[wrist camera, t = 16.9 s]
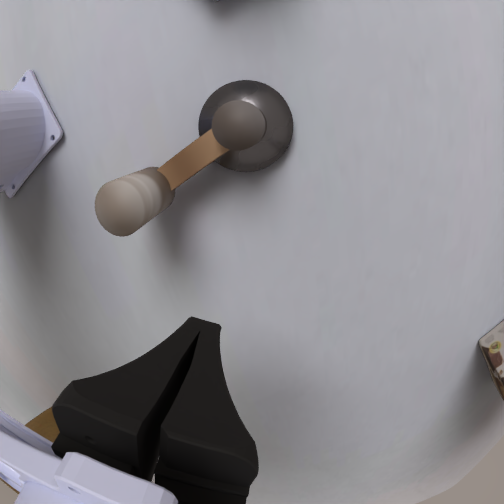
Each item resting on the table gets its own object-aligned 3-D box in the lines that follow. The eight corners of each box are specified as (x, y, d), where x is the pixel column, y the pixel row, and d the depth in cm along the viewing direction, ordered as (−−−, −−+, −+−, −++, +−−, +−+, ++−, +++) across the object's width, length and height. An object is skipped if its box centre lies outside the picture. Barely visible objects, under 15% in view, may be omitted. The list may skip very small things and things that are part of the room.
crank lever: (249, 94, 18) (234, 81, 12) (276, 133, 18) (272, 135, 13) (132, 181, 21) (85, 202, 15) (156, 216, 21) (116, 246, 16)
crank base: (231, 186, 21) (229, 188, 20) (185, 113, 19) (181, 112, 19) (309, 142, 19) (310, 142, 19) (262, 65, 18) (261, 63, 17)
